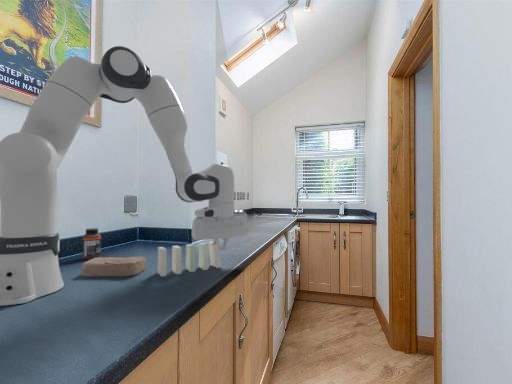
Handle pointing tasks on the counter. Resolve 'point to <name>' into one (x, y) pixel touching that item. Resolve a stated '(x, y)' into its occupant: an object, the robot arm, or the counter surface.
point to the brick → (113, 266)
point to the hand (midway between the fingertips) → (221, 251)
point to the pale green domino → (190, 257)
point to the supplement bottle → (91, 244)
